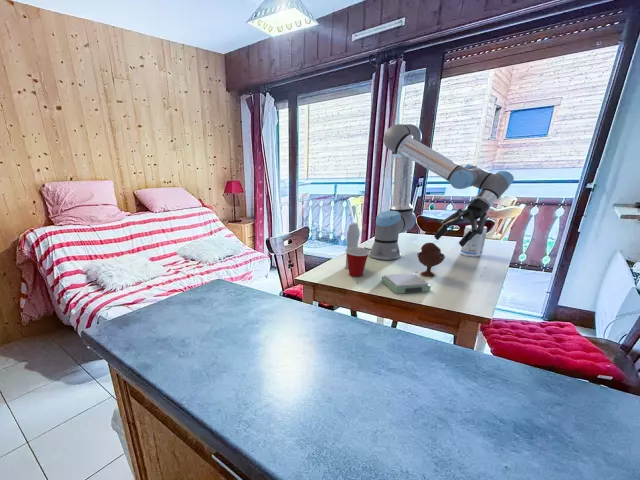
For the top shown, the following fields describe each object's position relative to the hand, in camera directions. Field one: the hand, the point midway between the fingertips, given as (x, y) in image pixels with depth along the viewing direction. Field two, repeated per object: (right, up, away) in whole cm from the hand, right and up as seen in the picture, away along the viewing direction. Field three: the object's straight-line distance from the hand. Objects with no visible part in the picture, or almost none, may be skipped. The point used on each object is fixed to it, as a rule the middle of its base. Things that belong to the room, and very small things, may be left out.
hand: (447, 241), depth 144 cm
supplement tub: (+28, -3, +27) cm, 39 cm away
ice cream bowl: (-7, -15, +4) cm, 17 cm away
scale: (-22, -20, -7) cm, 30 cm away
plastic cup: (-38, -15, +9) cm, 42 cm away
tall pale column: (-37, -10, +21) cm, 43 cm away
